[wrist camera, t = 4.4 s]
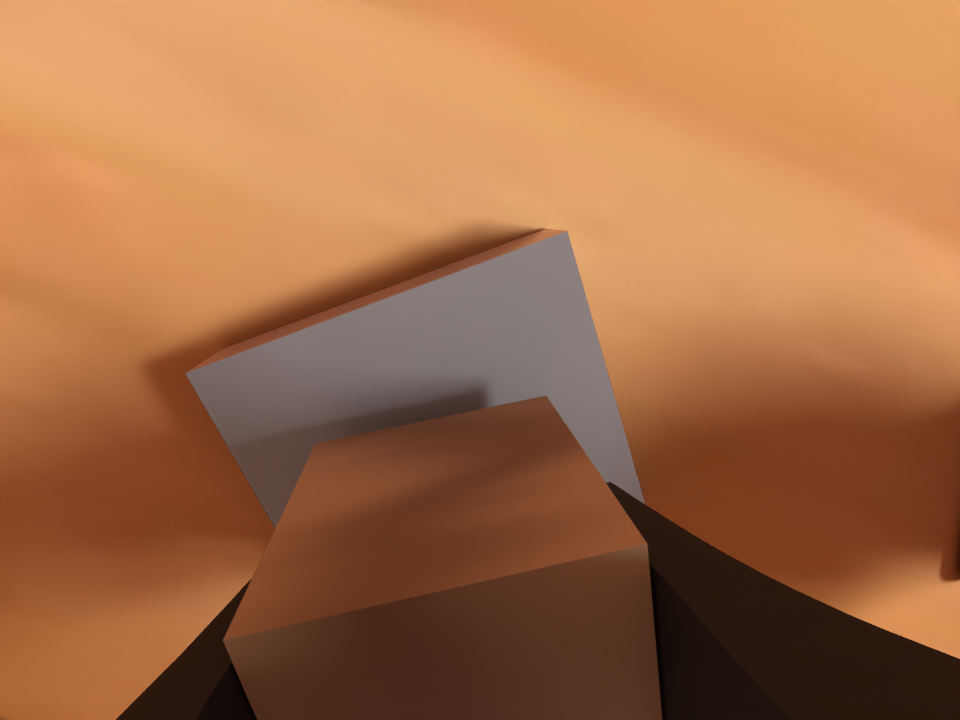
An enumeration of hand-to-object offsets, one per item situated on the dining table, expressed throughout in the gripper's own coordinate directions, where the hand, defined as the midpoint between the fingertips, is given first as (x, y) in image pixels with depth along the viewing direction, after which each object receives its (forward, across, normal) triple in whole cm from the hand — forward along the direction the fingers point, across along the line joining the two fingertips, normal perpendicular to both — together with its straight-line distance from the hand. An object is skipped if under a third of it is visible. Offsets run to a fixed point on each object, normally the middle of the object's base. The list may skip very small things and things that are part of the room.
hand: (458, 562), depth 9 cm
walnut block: (+2, 0, +1) cm, 2 cm away
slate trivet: (+6, 0, 0) cm, 6 cm away
